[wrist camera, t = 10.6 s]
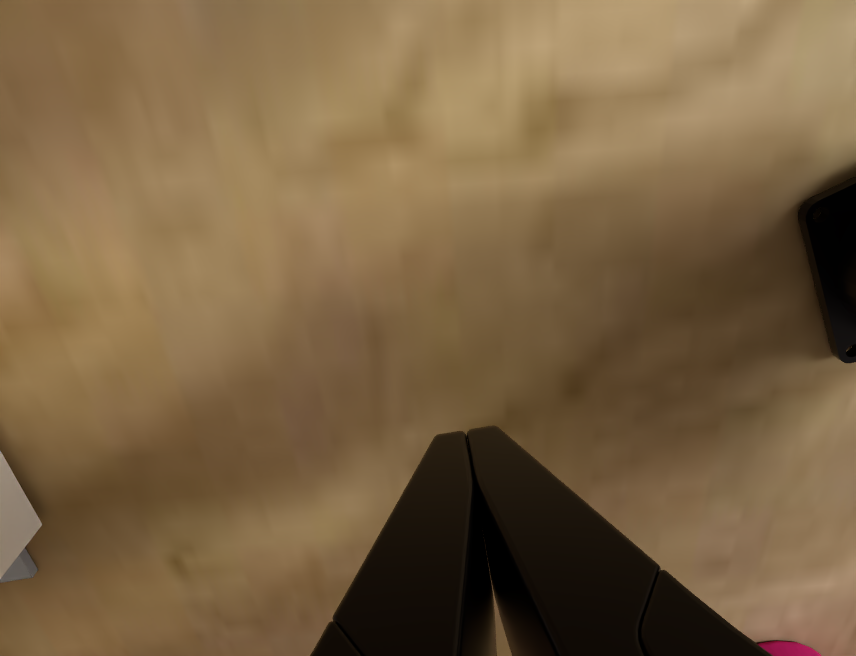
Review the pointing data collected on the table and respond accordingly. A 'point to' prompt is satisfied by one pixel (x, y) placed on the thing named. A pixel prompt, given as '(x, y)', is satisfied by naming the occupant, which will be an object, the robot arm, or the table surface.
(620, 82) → the table surface
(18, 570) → the mat
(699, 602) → the robot arm
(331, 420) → the table surface
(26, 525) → the picture frame
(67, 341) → the table surface
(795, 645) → the pepper mill
